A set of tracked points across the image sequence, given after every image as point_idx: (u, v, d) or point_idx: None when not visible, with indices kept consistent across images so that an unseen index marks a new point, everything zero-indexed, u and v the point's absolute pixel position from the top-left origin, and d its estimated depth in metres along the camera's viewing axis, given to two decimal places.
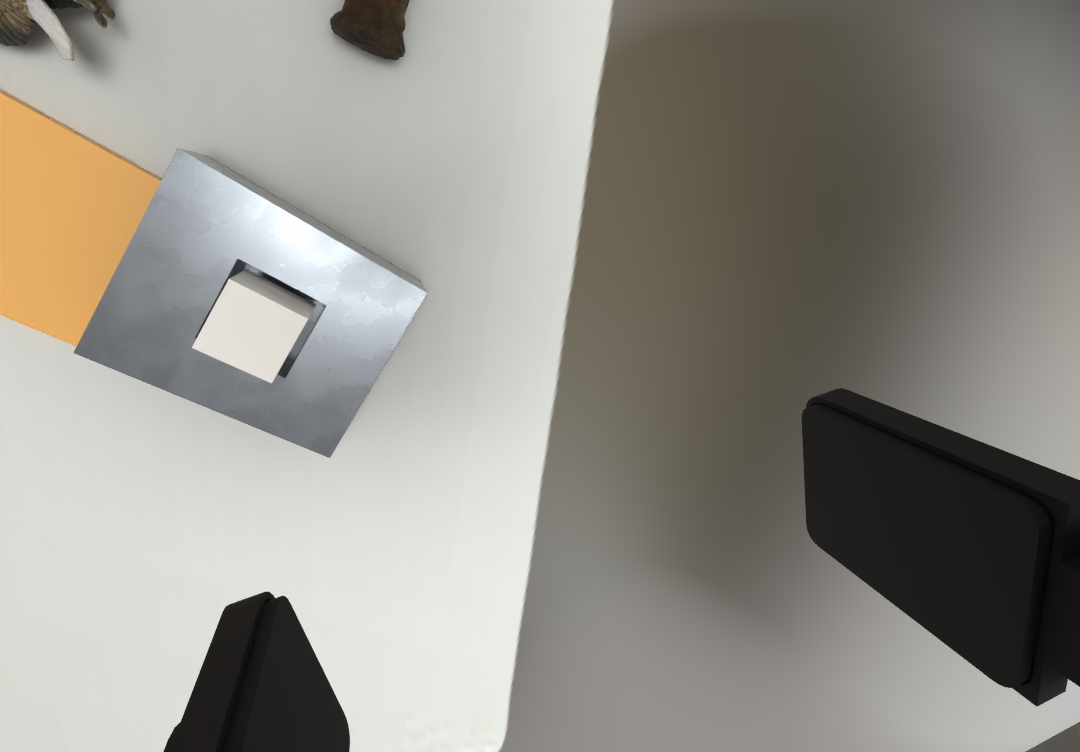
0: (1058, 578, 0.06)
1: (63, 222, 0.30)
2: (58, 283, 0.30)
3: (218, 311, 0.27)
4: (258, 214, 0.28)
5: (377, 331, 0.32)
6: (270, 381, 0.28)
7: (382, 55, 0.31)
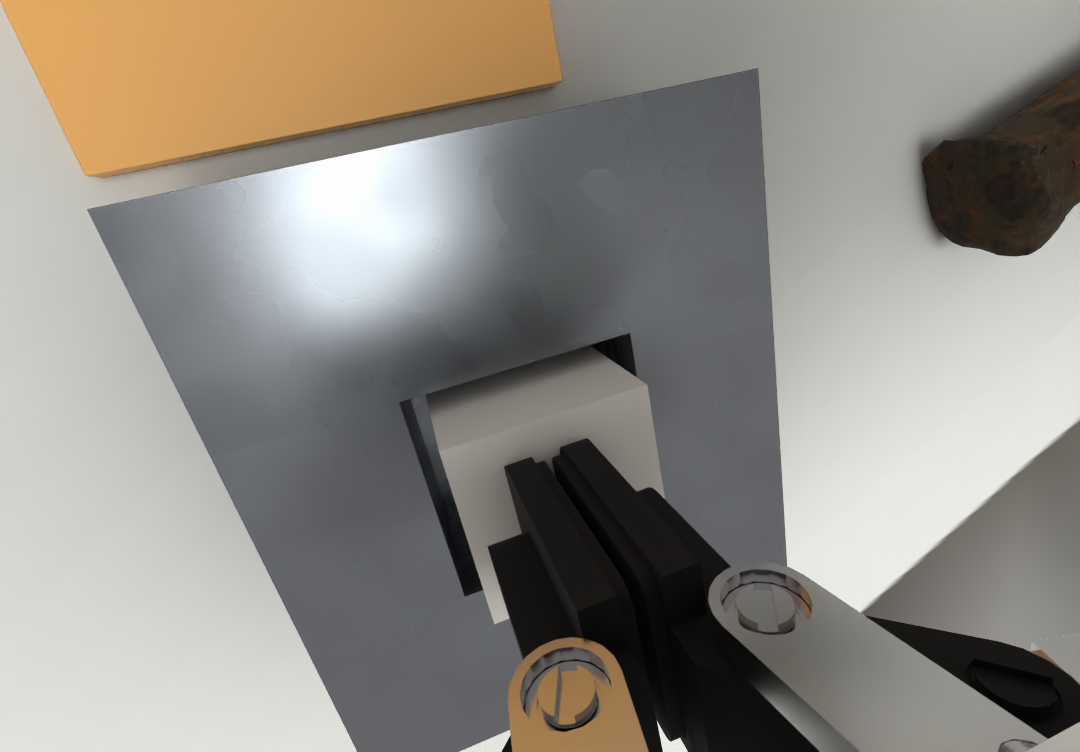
0: (673, 643, 0.07)
1: None
2: (190, 34, 0.11)
3: (564, 425, 0.10)
4: (735, 295, 0.12)
5: None
6: (496, 618, 0.11)
7: (973, 230, 0.18)
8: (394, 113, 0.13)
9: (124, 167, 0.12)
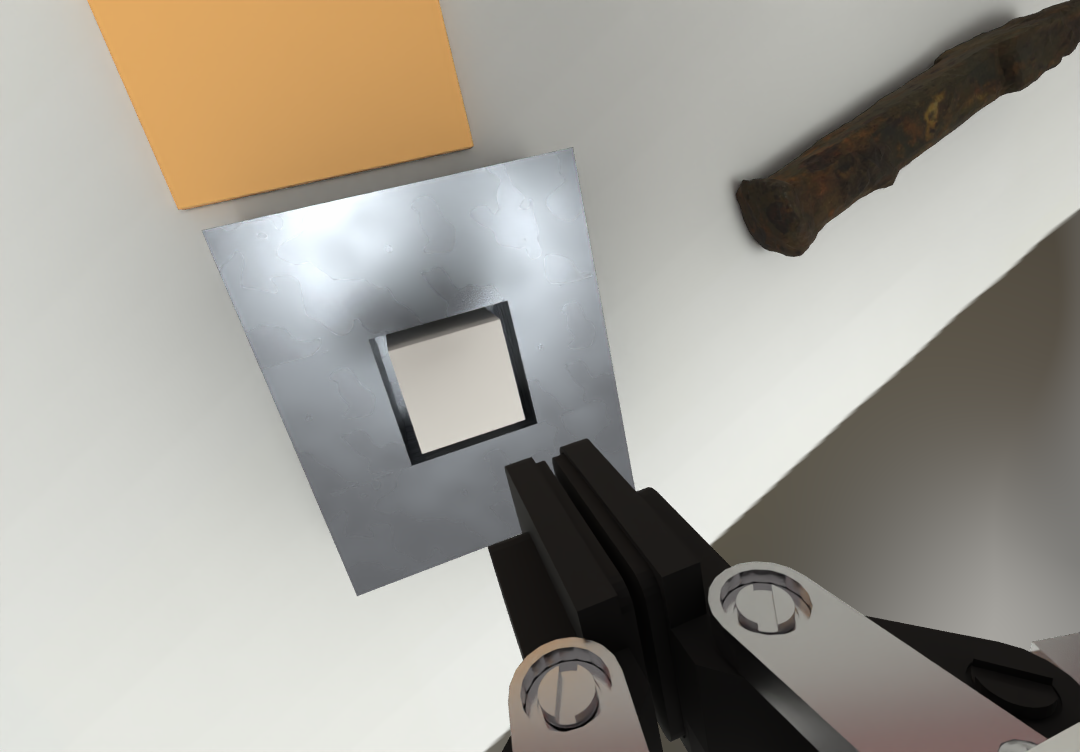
0: (673, 643, 0.07)
1: (327, 78, 0.19)
2: (243, 125, 0.19)
3: (455, 340, 0.19)
4: (572, 278, 0.20)
5: None
6: (423, 450, 0.19)
7: (768, 240, 0.26)
8: (366, 168, 0.21)
9: (201, 204, 0.19)
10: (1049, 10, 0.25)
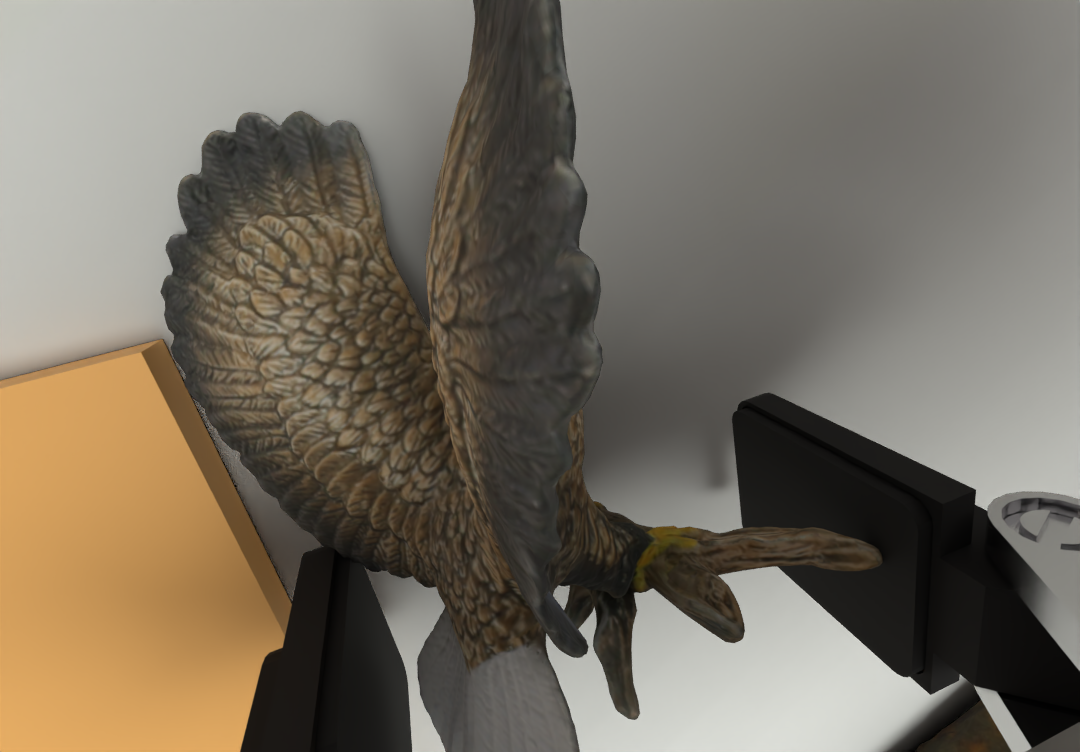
0: (938, 573, 0.07)
1: None
2: None
3: None
4: None
5: None
6: None
7: None
8: None
9: None
10: None
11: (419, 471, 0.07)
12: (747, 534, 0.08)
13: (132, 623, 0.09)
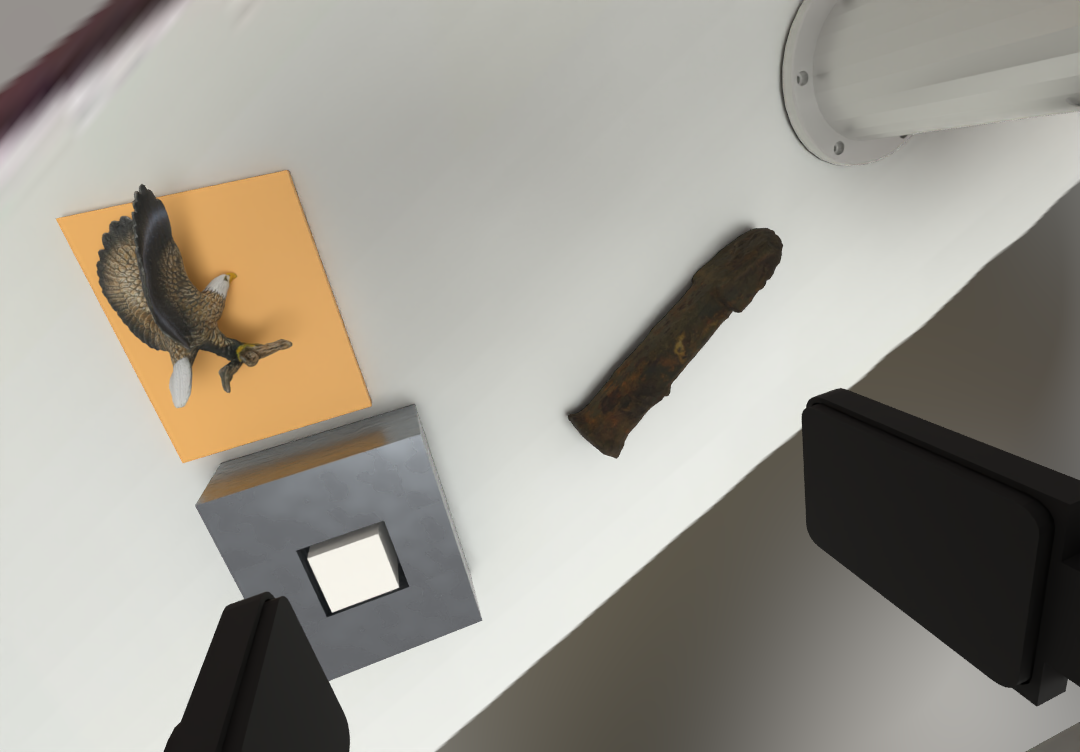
0: (1058, 578, 0.06)
1: (274, 381, 0.31)
2: (222, 413, 0.31)
3: (349, 548, 0.31)
4: (426, 503, 0.32)
5: (424, 625, 0.34)
6: (332, 610, 0.32)
7: None
8: (300, 427, 0.32)
9: (196, 458, 0.31)
10: (746, 255, 0.34)
11: None
12: None
13: (279, 255, 0.29)
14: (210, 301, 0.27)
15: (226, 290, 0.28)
